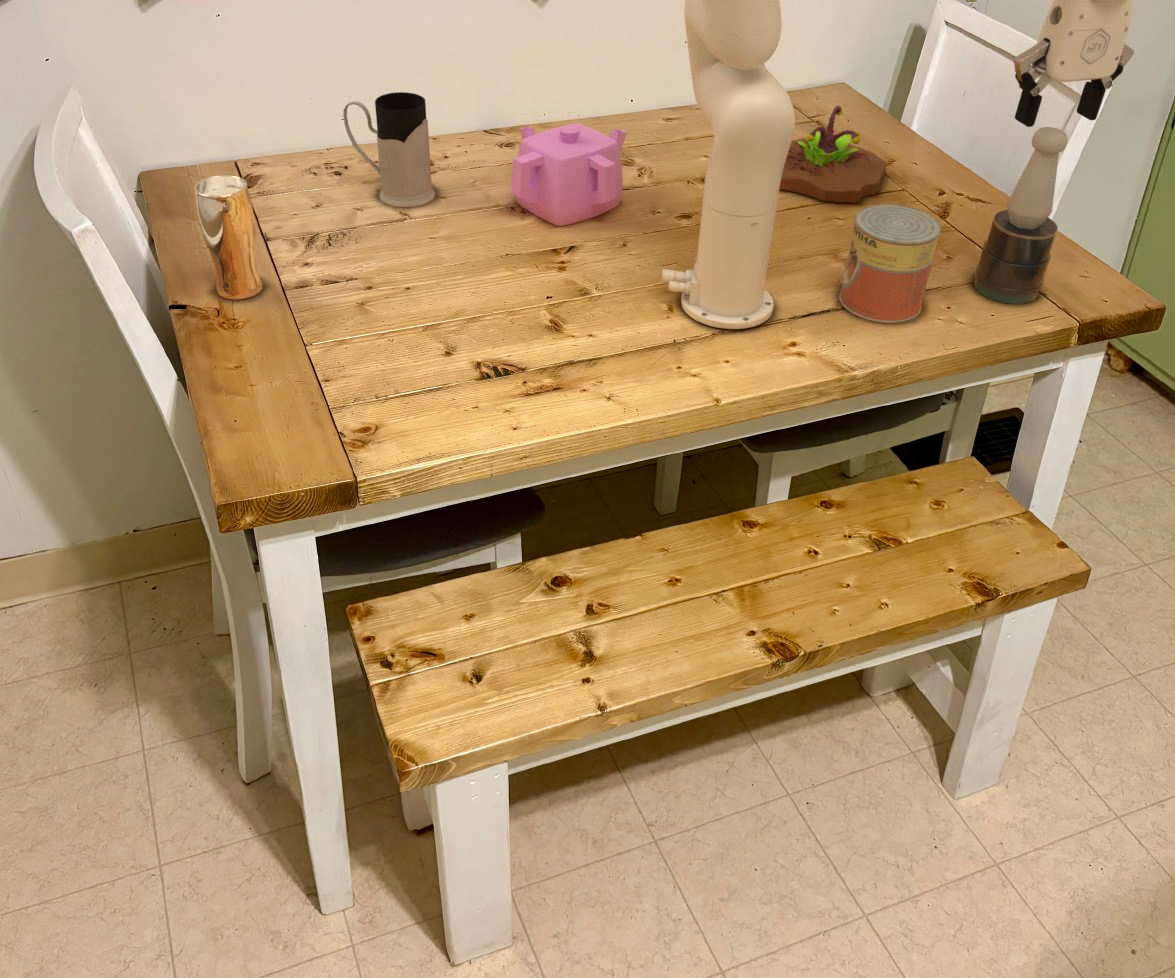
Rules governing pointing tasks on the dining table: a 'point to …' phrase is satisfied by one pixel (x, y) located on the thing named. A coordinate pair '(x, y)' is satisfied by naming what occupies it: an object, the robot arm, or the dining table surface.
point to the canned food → (889, 262)
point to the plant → (831, 166)
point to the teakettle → (568, 173)
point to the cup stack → (1014, 260)
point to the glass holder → (400, 148)
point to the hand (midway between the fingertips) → (1054, 119)
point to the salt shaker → (1037, 180)
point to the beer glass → (229, 234)
